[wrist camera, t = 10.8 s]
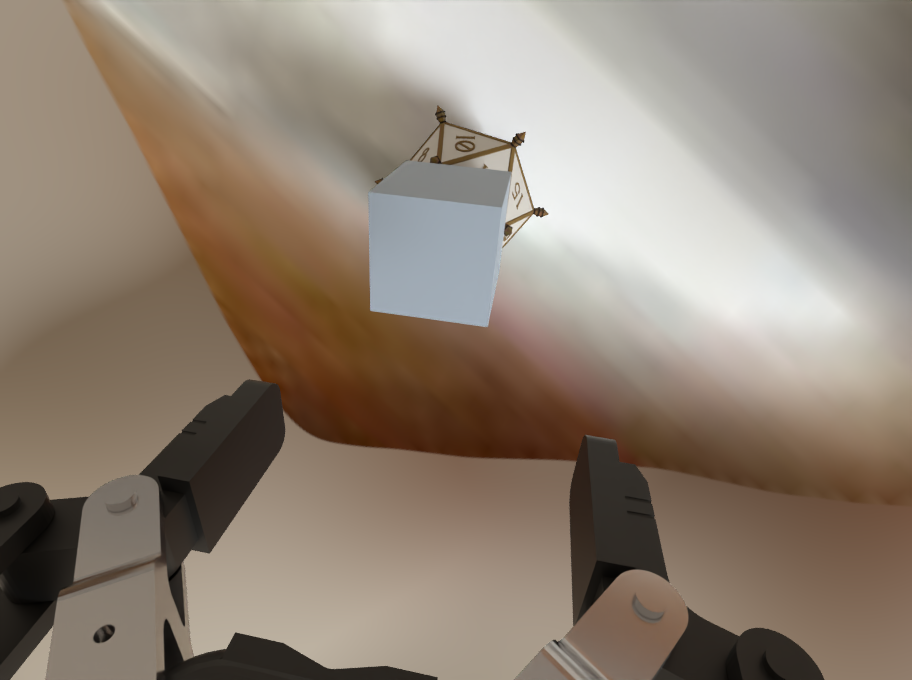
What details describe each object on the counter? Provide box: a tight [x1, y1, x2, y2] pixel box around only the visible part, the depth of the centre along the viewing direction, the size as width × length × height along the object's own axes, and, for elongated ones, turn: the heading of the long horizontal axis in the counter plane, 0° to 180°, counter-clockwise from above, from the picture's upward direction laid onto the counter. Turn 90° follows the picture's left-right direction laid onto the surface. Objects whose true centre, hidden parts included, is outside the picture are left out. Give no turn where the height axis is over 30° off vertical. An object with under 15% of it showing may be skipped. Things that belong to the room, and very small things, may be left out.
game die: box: [375, 106, 548, 248], centre depth 28 cm, size 9×8×10 cm
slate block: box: [368, 160, 512, 327], centre depth 22 cm, size 5×5×6 cm
